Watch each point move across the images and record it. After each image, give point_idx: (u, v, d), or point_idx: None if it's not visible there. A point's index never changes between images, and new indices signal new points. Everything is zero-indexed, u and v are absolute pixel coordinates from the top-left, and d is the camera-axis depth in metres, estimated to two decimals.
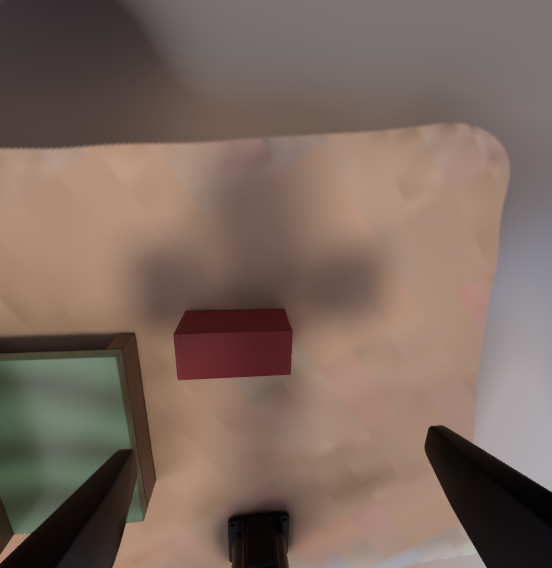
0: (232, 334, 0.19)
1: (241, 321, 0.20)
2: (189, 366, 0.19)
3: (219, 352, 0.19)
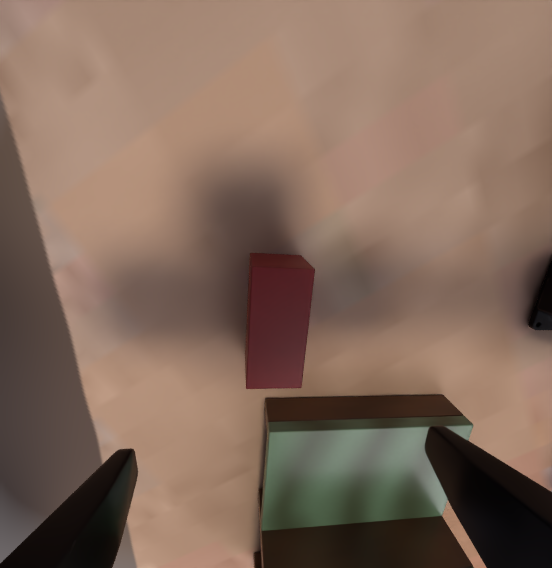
0: (250, 334, 0.16)
1: (248, 313, 0.18)
2: (286, 377, 0.18)
3: (272, 348, 0.17)
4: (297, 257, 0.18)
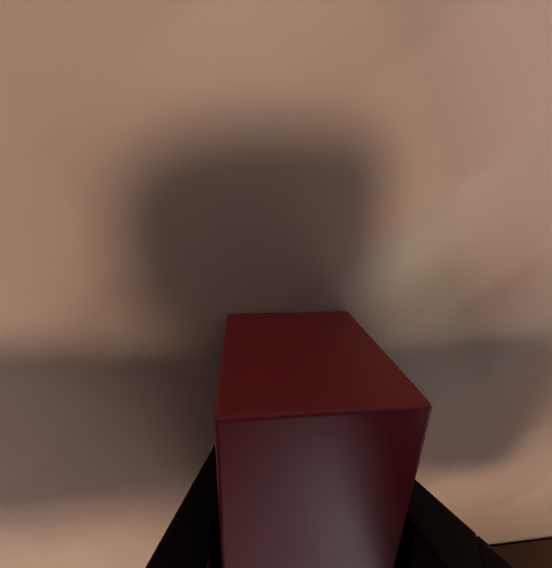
0: None
1: None
2: None
3: None
4: (344, 324, 0.07)
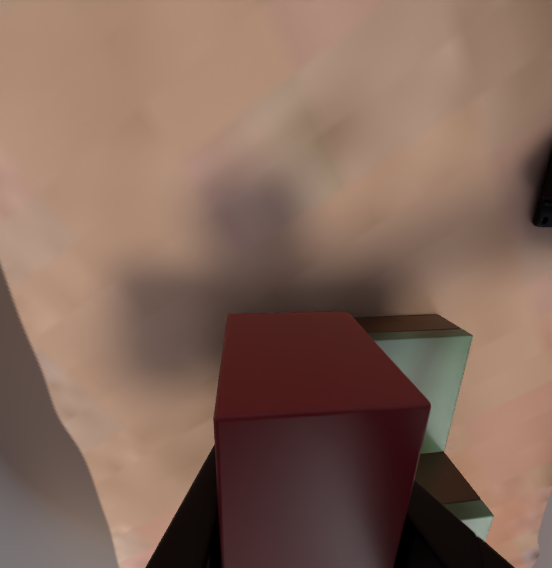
0: None
1: None
2: None
3: None
4: (344, 324, 0.07)
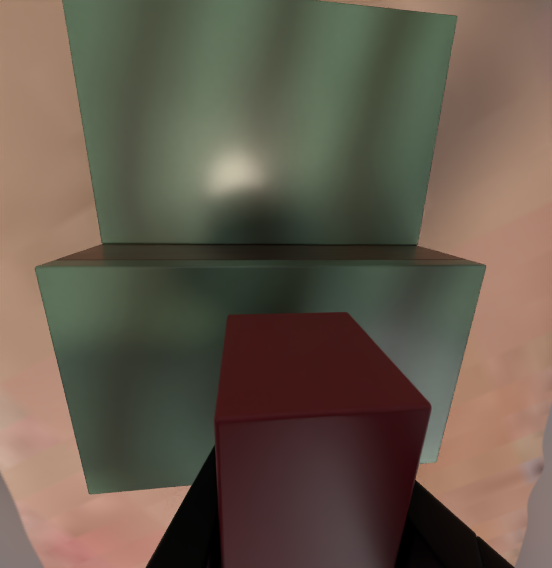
0: None
1: None
2: None
3: None
4: (344, 325, 0.07)
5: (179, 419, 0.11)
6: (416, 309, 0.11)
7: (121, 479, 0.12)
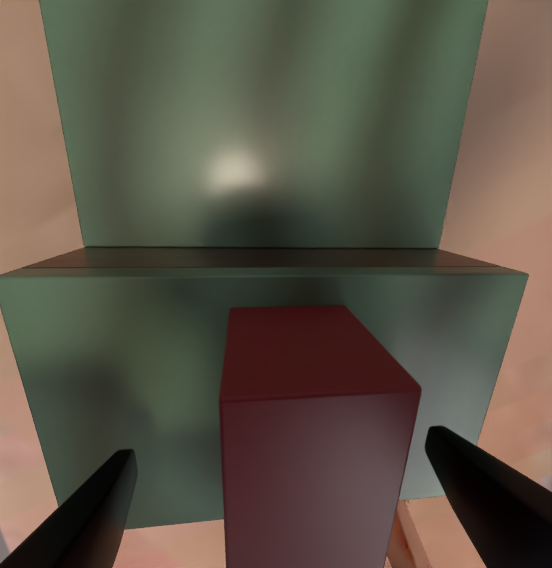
0: (232, 564, 0.06)
1: None
2: None
3: None
4: (342, 317, 0.08)
5: (170, 451, 0.10)
6: (446, 325, 0.09)
7: None
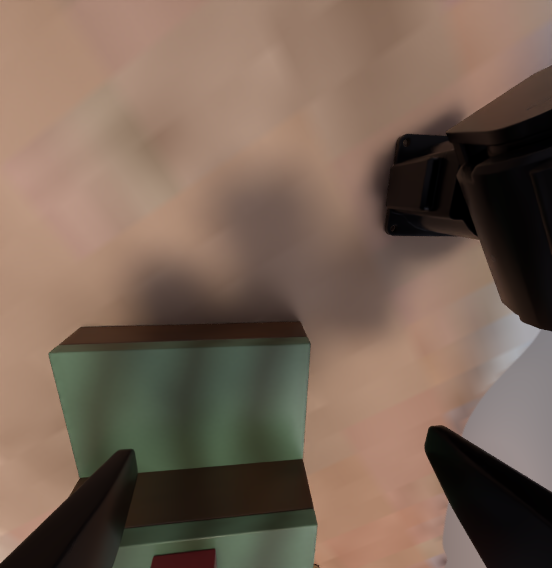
0: None
1: None
2: None
3: None
4: None
5: None
6: (275, 549, 0.17)
7: None
